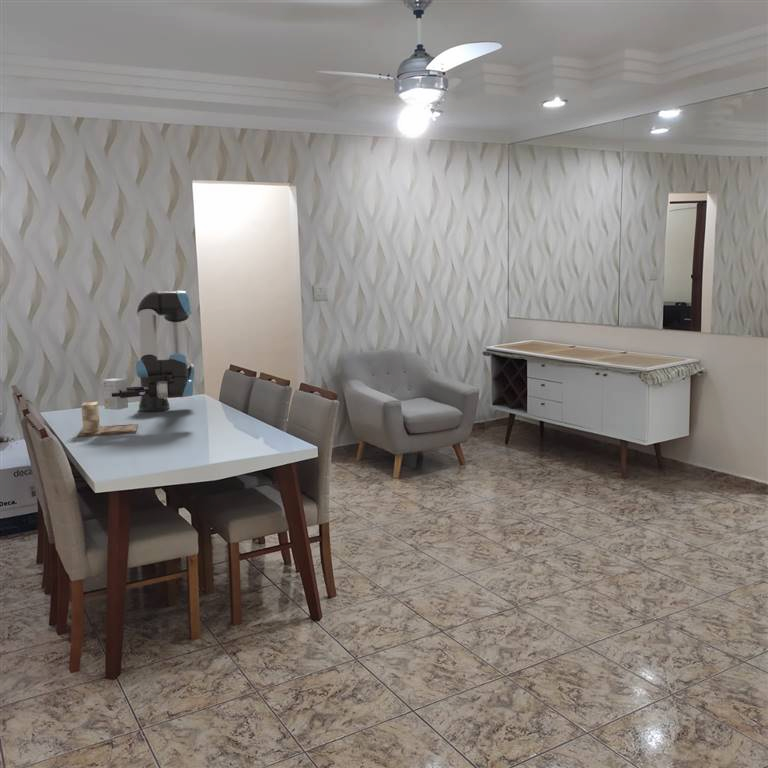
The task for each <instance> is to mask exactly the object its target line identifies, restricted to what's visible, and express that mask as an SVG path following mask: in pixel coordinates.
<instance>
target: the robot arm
mask: <svg viewBox="0 0 768 768" xmlns="http://www.w3.org/2000/svg"><path fill="white" fill-rule="evenodd" d="M190 300H191V299H190V296H189V293H188V292H187V291H186V290H179V289H178V290H166V291H164V290H163V291H162V290H161V291H158V290H155V291H151V292H149V293H148V294H145V296H144V297H143V298H142V299H141V301H140V302H139V304H138V307H137V309H136V318H137V320H138V321H139V349H140V350H139V352H140V359H139V360H137V361H136V362H135V373H136V376H137V377H138V378H140V386H139V385H138V386H126V387H127V391H121V390H119V391H113V392H104V393H103V399H104V398H119V397H121V398H127V399H128V398H135V397H140V401H139V404H138V411H139V412H144V413H145V412H146V413H155V412H163V411H167V410H169V409H170V408H171V407H170V403H169V399H171V398H173V399H175V398H184V397H185V398H186V397H192V396H193V395H194V381H195V379H194V378H195V365H194V364H193V363H192V361H191V360H190V359H189V355H188V336H187V335H188V334H187V320H188V319H189V316H190V315H192V307H191V306H192V305H191V301H190ZM159 316H164V317H163V318H164V320H165V321H166V322H167V328H168V329H167V330H168V331H167V332H168V344H169V357H168V359H158V358H159V354H158V334H157V333H158V332H157V331H158V330H157V320H158V319H159ZM168 398H169V399H168Z"/></svg>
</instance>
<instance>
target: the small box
mask: <svg viewBox="0 0 768 768" xmlns="http://www.w3.org/2000/svg"><path fill="white" fill-rule="evenodd" d="M127 387H128V386H127V379H126V378H108V379H107V378H106V379H102V389H103V390H102V391H103V394H104V392H113V391H119V390H121V391H127ZM128 401H129V400H128V398H121V397H119V398H104V397H103V402H104V403H103V404H104V409H105V410H114V411H115V410H116V411H118V410H119V411H120V410H123V409H127V408H129V402H128Z"/></svg>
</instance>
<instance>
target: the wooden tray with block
mask: <svg viewBox="0 0 768 768" xmlns="http://www.w3.org/2000/svg"><path fill="white" fill-rule="evenodd" d="M80 406H81V417H82V418H81V419H82V427H81V429H80V430H79V432H78V434H77V438H86V437H87V438H88V437H99V436H113V435H115V436H116V435H125V434H137V431H138V427H139V424H138V423H130V424H129V423H128V424H127V423H126V424H116V425H114V424H112V425H102V426H101V423H100V411H99V401H89V402H83V403H82V404H81V405H80Z"/></svg>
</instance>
